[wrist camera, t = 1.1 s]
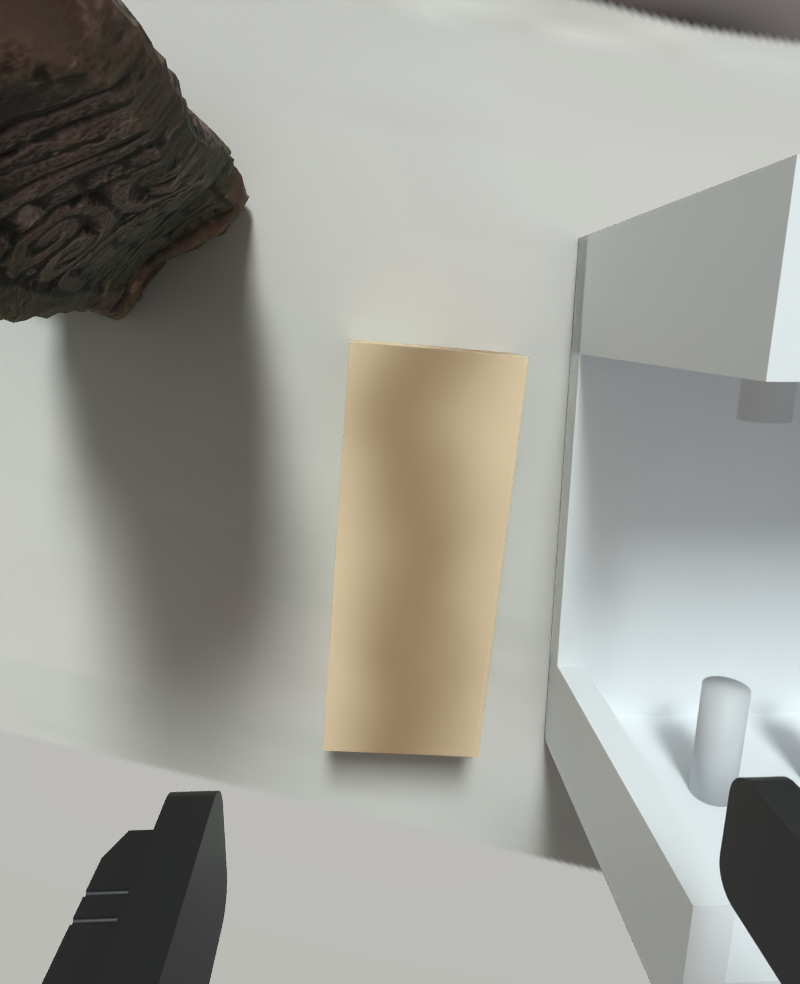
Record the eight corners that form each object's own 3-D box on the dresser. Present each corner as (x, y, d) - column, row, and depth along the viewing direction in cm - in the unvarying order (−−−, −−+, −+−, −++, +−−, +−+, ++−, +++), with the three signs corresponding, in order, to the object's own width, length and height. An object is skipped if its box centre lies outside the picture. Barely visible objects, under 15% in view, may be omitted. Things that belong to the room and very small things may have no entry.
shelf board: (506, 352, 24) (529, 357, 21) (463, 703, 28) (477, 757, 24) (351, 339, 24) (349, 341, 21) (327, 697, 27) (322, 750, 24)
